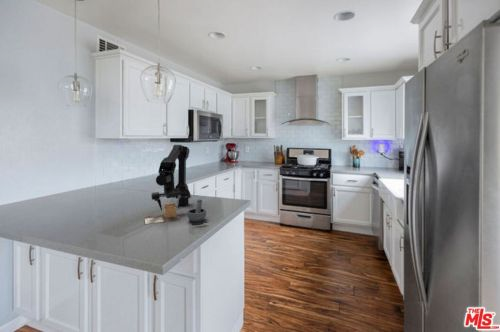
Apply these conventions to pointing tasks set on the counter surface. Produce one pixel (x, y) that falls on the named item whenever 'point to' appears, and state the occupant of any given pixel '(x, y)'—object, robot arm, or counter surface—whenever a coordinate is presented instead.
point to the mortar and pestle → (197, 214)
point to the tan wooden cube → (169, 210)
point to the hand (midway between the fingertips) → (170, 209)
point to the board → (159, 219)
